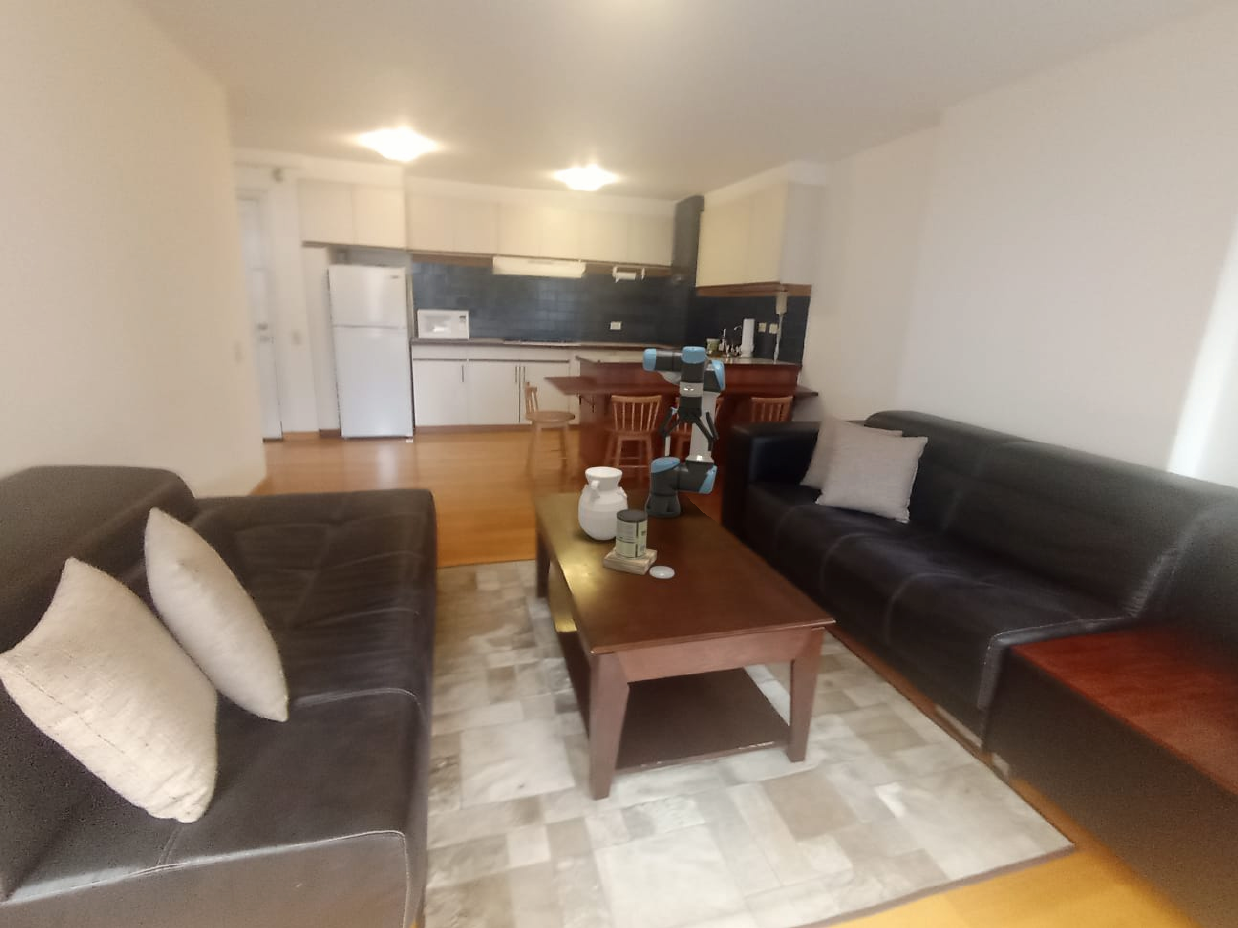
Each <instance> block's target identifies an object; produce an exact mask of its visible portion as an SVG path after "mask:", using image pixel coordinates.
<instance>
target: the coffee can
mask: <svg viewBox="0 0 1238 928" xmlns="http://www.w3.org/2000/svg"><path fill="white" fill-rule="evenodd" d="M648 517H649V515H648V514H647V513H646V512H645V510H641V509H635V508H628V509H625V510H620V511H618V512H617V527H616V536H615V547H616V552H615V553H616V555H617V556H618V557H620V558H623V559H628V560H636V559H641V558H643V557H644V556H645V555H646V549H647V531H648V530H647V529H648Z"/></svg>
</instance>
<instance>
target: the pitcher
mask: <svg viewBox="0 0 1238 928" xmlns="http://www.w3.org/2000/svg"><path fill="white" fill-rule="evenodd" d="M584 474H585V478H586V479H587V482H588V484H585V485H584V486H583V489H582V490H581V493H582V494H581V495H580V497H579V500H578V509H577V518H578V522H579V525H580V527H581V529H582V530H583V531H584V533H586V534H587V535H589V536H590V537H591V538H593V539H594V540H598V541H608V540H609V541H611V540H612V539H614V538H616V527H617V512H618V511H620V510H625V509H629V507H628V500H627V498H628V495H627V494H626V493H625V490H624V489H623V488H622V487H623V486H620V485H619V482H620V481H621V479H622V476H623V472H622V470H620V469H618V468H615V467H610V466H595V467H589V468H587V469H585V473H584Z"/></svg>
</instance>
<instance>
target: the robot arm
mask: <svg viewBox="0 0 1238 928" xmlns="http://www.w3.org/2000/svg"><path fill="white" fill-rule="evenodd" d="M706 351H707V350H706V348H705V347H702V346H684V347H683V348H682V350H678V349H677V350H676V349H674V350H673V349H660V348H659V349H658V348H647V349H645V350H644V352H643V354H642V368H643V370H644V371H647V372H648V371H649V372H657V373H659V374H661V376H662V378H663V379H664V380H665V381H667V382H669V383H671V384H673V385H676V386H678V387H679V394H680V395H679V397H678V408H675V407H670V408H669V409H668V412H667V416H666V418H665V419H664V420H663V422H662V425H661V426H660V427H659V430H658V431H657V434H658V435H661V436H662V446H665V447H664V448H665V449H664V457H659V458H657V459H654V460H653V461H652V462H651V466H650V468H651V469H650V471H649V473H650V481H649V483H650V484H649V495H648V497H647V500H646V502H645V504H644V512H646V513H647V514H648V516H650V517H652V518H658V519H659V518H660V519H672V518H678V517H679V516H680V515H681V510H682V508H681V504H680V501H679V497H678V494H679V492H686V493H687V492H688V493H696V494H710V493H711V492H712V490H713V487H714V483H715V479H716V475H717V471H718V467H717V466H716V465H714V464H715V461H714V459H713V458H712V457H711V456H712V450H713V445H714V442H716V441H718V440H719V439H720V436H719V435H718V430H717V429H716V426H715V417H716V416H715V415H716V404H717V398H719V396H720V395H721V394H722V391H725V389H726V374H725V373H726V370H725V364H724V363H723V361H722V360H718V359H717V360H716V359H709V357H708V355H707V353H706ZM676 414H677V415H678V418H677V419H676V421H674V422H673V423H672V424H671V425H670V427H668V429H666V428H667V426H668V425H669V423H670V422H671V420H672V418H673V417H674V416H675V415H676ZM681 422H682V423H683V424H690V425H691V424H692V427H691V435H690V436H691V437H690V446H689V455H688V456H687V457H686V458H685V459H684V460H685V462H681V461H680V458H678V457H673V456H672V457H671V456H669V455H670V447H671V435H669V434H671V433H672V432H673V431H674V430H675V429H676V428H677V426H679V425H680V424H681ZM678 491H679V492H678Z"/></svg>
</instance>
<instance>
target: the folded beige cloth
mask: <svg viewBox="0 0 1238 928" xmlns="http://www.w3.org/2000/svg"><path fill="white" fill-rule="evenodd" d="M615 552H616V546H615V547H613V548H612V550H611V551H609V553H608V554H607V555H605V557H603V561H602V562H603V563H602V564H603V565H602V567H603V568H606V569H613V570H617V571H621V572H626V573H632V574H635V575H640V576H644V575H646V572H647V571H648V570H650V569H651V566H652V565H653V564H654V563H655V562H656V560H657V558H658V556H657V555H658V550H656V549H651V548H646V555H645V556H644V557H643V558H641V559H636V560H628V559H623V558H620V557H618V556H617V555H616V553H615Z"/></svg>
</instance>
